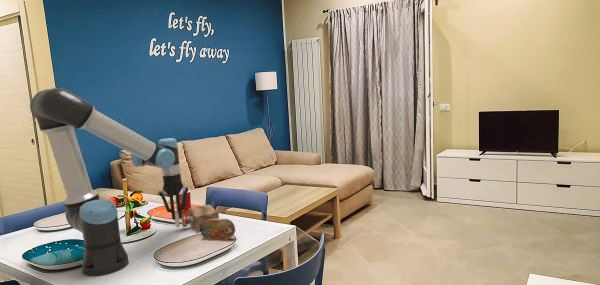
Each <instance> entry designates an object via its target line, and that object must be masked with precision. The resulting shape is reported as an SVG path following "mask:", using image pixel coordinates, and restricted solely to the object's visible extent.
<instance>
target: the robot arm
mask: <svg viewBox="0 0 600 285" xmlns="http://www.w3.org/2000/svg"><path fill="white" fill-rule="evenodd" d="M29 109H30V112H31V114H32V116H33V117H34V118H35V119H36V121H37V124H38V128H39V130H40V132H42V133H44V134H46V136H47V139H48V142H49V145H50V149H51V150H52V154H53V158H54V160H55V161H54V162H55V164H56V166H57V170H58V172H59V175H60V179H61V183H62V186H63V188H64V191H65V194H66V198H65V200H64V201H63V204H64V206H65V219H66V222H67V223H68V224H69V225H70V227H71V228H73V229H74V230H77V231H78V232H80V233H82V239H83V245H84V254H83V259H82V263H81V271H82V274H83V275H86V276H91V277H93V276H94V277H95V276H104V275H108V274H111V273H115V272H117V271H120V270H121V269H123V268H125V267H126V266H128V264H129V262H130V261H129V254H128V253H127V251H126V250H125V247H124V245H123V244H122V240H121V233H120V224H119V216H118V214H119V213H118V208H117V205H116V203H115V201H112V200H109V199H101V198H100V195H99V192H98V191H96V190H95V189H93V188H92V185H91V181H90V177H89V175H88V171H87V167H86V164H85V161H84V159H83V155H82V152H81V149H80V145H79V142H78V139H77V136H76V132H75V129H77V130H82V129H83V130H85V131H87V132H88V133H91V134H93V135H95V136H96V137H98V138H101V139H103V140H105V141H106V142H108V143H110V144H112V145H114V146H116V147H118V148H120V149H122V150H124V151H126V152H128V153H129V154H130V160H131V163H132V164H133V166H134V167H136V168H138V167H144V166H149V167H156V168H159V169H161V172H162V175H163V176H162V180H163V182H162V184H163V186H162V189H161V190H160V191H158V192H157V193H158V195H159V196H160V198H161V200H162V202H163V205H164V207H165V209H166V211H167V213H171V219H172V220H173V221H174V224H175V227H176V228H180V227H181V225H180V224H181V222H180V220H181V211H182V210H184V209H185V203H186V195H187V192H188V190H189V188H190V187H188V186H185V185H184V184H183V181H182V173H181V164H180V157H179V146H178V141H177V139H176V138H173V137H170V138H169V137H167V138H161V139H159V140H158V144H157V143H155V142H153V141H151V140H149V139H148V138H146V137H145V136H142V135H141V134H139V133H137V132H135V131H134V130H132V129H130V128H129V127H127V126H124V125H123V124H121V123H119V122H117V121H116V120H114V119H112V118H110V117H109V116H107V115H105V114H104V113H101V112H100V111H98V110H96V108H95V105H94V104H92V103H90V102H89V101H87V100H85V99H84V98H82V97H80V96H78V95H77V94H75V93H74V92H72V91H70V90H69V89H65V88H62V87H55V88H54V87H53V88H50V89H49V88H47V89H42V90H40V91H38V92H37V93H36V94H34V96H32V98H31V100H30V104H29ZM182 188H183V196H182V203H181V207H180V199H179V193H180V191H181V190H182ZM165 193H166V194H167V195H168V197H169V204H168V202H167V199H166V196H165ZM174 197H175V201H174ZM175 202H176V204H175ZM169 205H170V207H169ZM175 205H176V210H175Z"/></svg>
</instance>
